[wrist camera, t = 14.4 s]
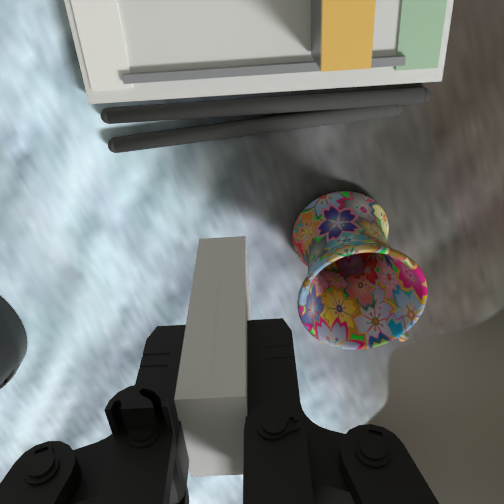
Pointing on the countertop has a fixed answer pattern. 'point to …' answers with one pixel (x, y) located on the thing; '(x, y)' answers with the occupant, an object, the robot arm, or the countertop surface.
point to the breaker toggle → (342, 34)
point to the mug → (354, 274)
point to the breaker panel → (241, 47)
